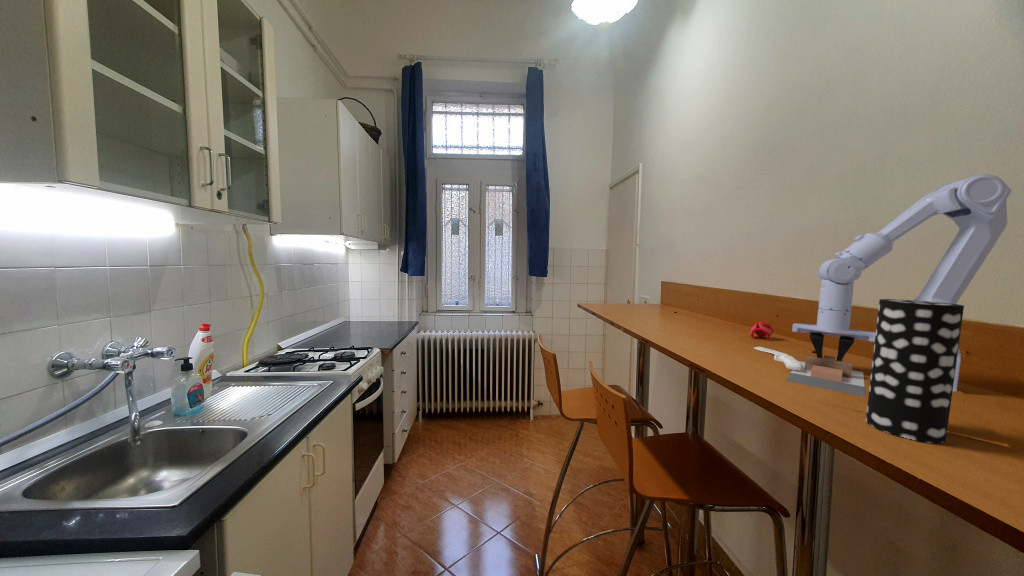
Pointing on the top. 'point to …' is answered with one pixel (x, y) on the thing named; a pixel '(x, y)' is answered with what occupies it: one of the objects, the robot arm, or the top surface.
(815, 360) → the pusher
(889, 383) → the spotted tube
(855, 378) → the board
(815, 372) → the tile
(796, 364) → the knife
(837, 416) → the top surface
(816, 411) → the top surface
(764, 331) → the red openwork dome
